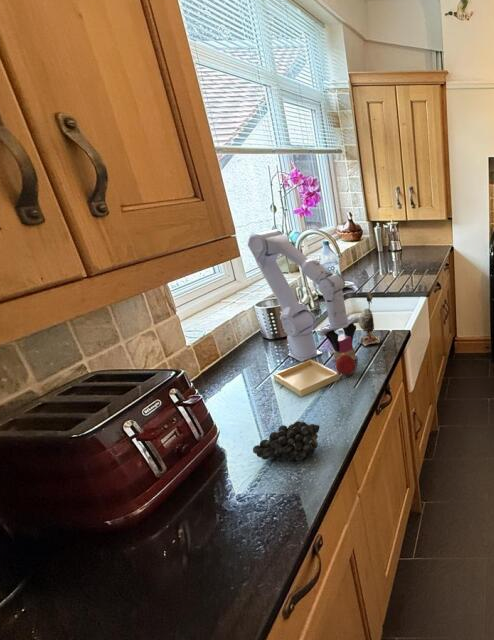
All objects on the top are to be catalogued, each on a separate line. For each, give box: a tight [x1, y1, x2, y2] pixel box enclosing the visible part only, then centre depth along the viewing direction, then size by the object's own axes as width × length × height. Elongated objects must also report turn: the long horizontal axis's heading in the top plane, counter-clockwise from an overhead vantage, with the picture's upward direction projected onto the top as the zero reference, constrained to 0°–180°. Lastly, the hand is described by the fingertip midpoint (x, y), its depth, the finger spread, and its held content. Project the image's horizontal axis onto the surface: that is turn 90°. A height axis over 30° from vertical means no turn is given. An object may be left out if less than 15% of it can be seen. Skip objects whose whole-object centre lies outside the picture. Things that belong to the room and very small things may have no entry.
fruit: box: [252, 420, 320, 462], centre depth 92 cm, size 9×8×15 cm
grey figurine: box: [358, 291, 381, 347], centre depth 150 cm, size 8×11×20 cm
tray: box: [273, 358, 341, 397], centre depth 127 cm, size 17×13×2 cm
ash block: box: [332, 348, 357, 362], centre depth 138 cm, size 5×5×4 cm
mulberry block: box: [338, 333, 354, 353], centre depth 137 cm, size 4×4×4 cm
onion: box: [335, 353, 356, 377], centre depth 127 cm, size 6×6×8 cm
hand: (343, 347), depth 137 cm, fingers closed on mulberry block, 4 cm apart
